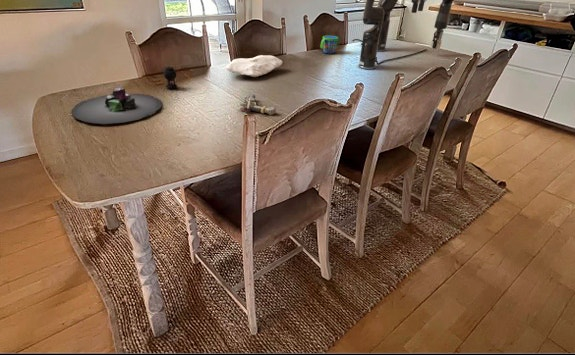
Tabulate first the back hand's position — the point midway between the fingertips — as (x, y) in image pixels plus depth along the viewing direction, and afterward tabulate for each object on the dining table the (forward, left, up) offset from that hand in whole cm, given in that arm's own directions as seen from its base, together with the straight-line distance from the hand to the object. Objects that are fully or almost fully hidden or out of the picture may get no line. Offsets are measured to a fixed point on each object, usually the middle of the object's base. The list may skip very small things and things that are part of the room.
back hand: (435, 47), depth 246 cm
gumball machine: (-21, -176, -6) cm, 177 cm away
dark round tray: (-7, -203, -6) cm, 204 cm away
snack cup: (-39, -61, -6) cm, 72 cm away
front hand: (+33, -72, +30) cm, 85 cm away
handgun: (+21, -152, -6) cm, 153 cm away
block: (0, 0, -1) cm, 1 cm away
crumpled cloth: (-23, -129, -6) cm, 131 cm away
